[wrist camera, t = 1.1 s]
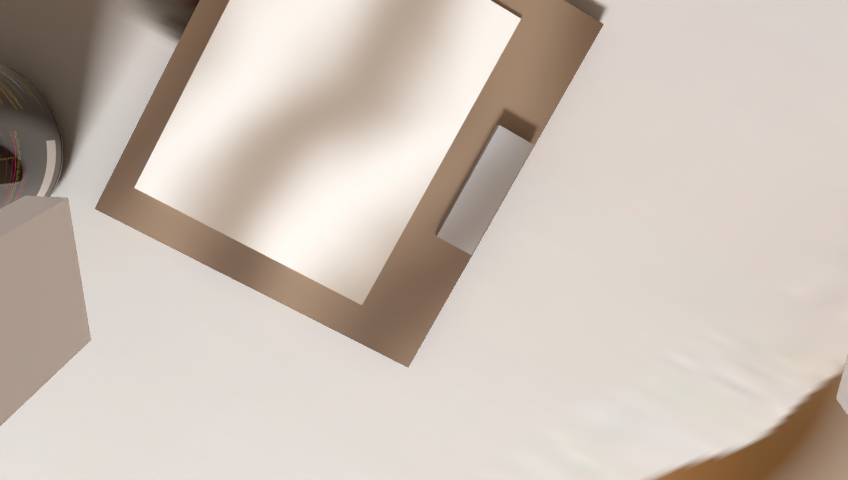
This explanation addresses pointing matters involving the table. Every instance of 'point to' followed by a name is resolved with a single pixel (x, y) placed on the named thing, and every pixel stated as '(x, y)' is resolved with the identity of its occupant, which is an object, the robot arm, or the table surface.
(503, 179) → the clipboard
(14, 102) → the supplement container
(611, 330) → the table surface
